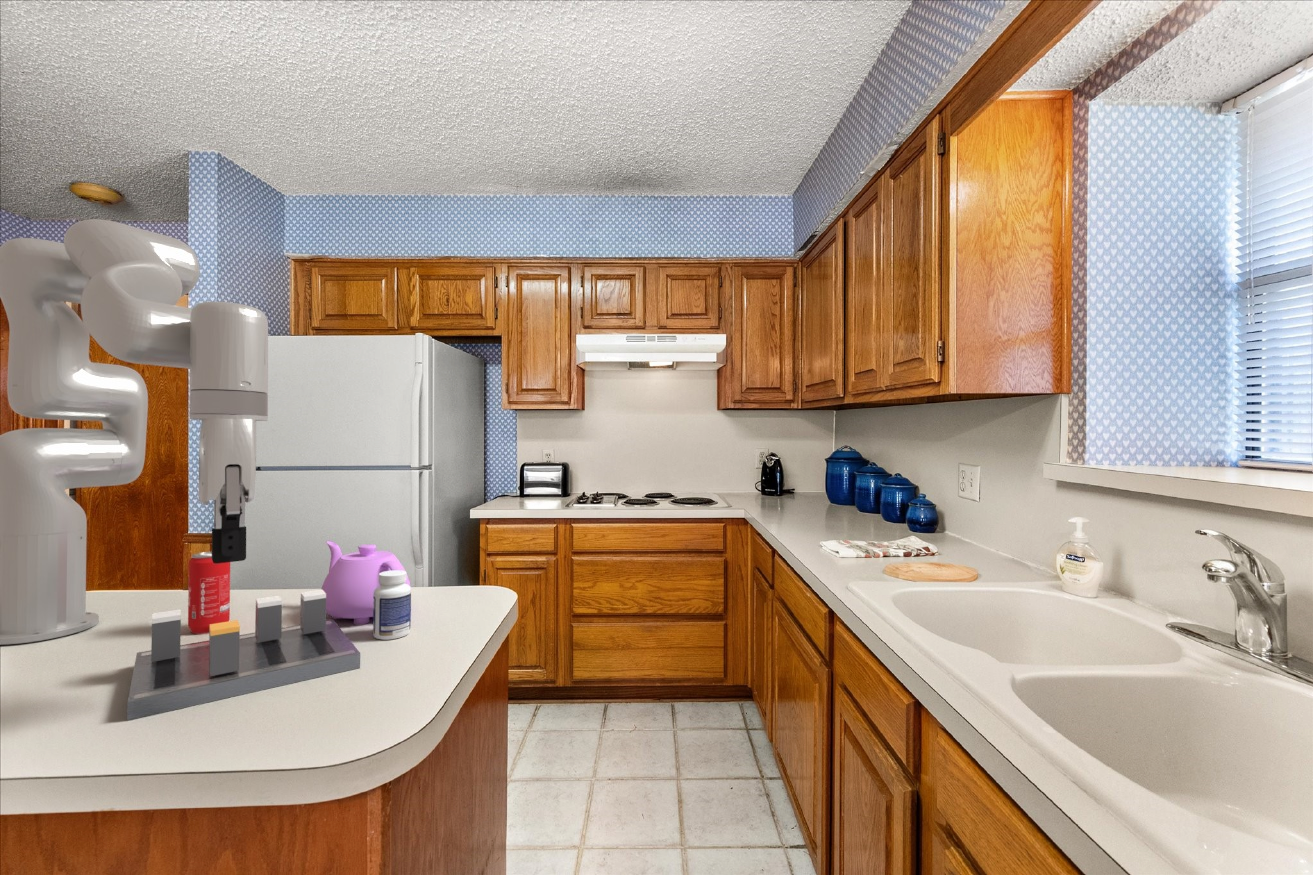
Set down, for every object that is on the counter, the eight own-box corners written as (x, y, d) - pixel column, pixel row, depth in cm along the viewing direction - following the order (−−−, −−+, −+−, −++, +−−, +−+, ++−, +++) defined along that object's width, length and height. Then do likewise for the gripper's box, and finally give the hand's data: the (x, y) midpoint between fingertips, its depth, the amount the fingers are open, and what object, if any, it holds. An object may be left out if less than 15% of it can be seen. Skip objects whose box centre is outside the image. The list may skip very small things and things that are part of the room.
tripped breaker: (208, 668, 70) (209, 624, 70) (237, 662, 72) (237, 619, 72) (209, 676, 68) (210, 630, 68) (239, 670, 70) (239, 626, 70)
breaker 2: (255, 636, 81) (255, 598, 81) (278, 632, 83) (279, 595, 83) (257, 642, 79) (257, 603, 79) (281, 638, 81) (282, 600, 81)
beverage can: (206, 636, 88) (207, 558, 88) (179, 633, 89) (180, 556, 89) (237, 625, 93) (238, 551, 93) (211, 622, 94) (212, 550, 94)
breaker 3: (300, 628, 85) (300, 592, 85) (321, 624, 86) (322, 589, 86) (303, 634, 82) (304, 596, 82) (325, 630, 84) (326, 593, 84)
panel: (136, 667, 76) (136, 652, 76) (332, 631, 90) (332, 618, 90) (127, 720, 62) (127, 701, 62) (360, 667, 77) (360, 652, 77)
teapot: (287, 615, 98) (288, 545, 98) (363, 596, 111) (364, 533, 111) (361, 636, 89) (362, 558, 89) (435, 612, 101) (436, 543, 101)
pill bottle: (418, 632, 91) (419, 571, 91) (389, 642, 86) (390, 578, 86) (394, 626, 93) (395, 567, 93) (365, 637, 88) (366, 574, 88)
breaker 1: (152, 654, 74) (152, 613, 74) (180, 649, 76) (180, 609, 76) (151, 661, 72) (151, 619, 72) (180, 656, 74) (180, 614, 74)
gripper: (187, 409, 72) (186, 555, 71) (191, 403, 60) (190, 577, 60) (259, 411, 77) (259, 548, 76) (276, 406, 65) (275, 567, 65)
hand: (229, 560), depth 68 cm, fingers closed
